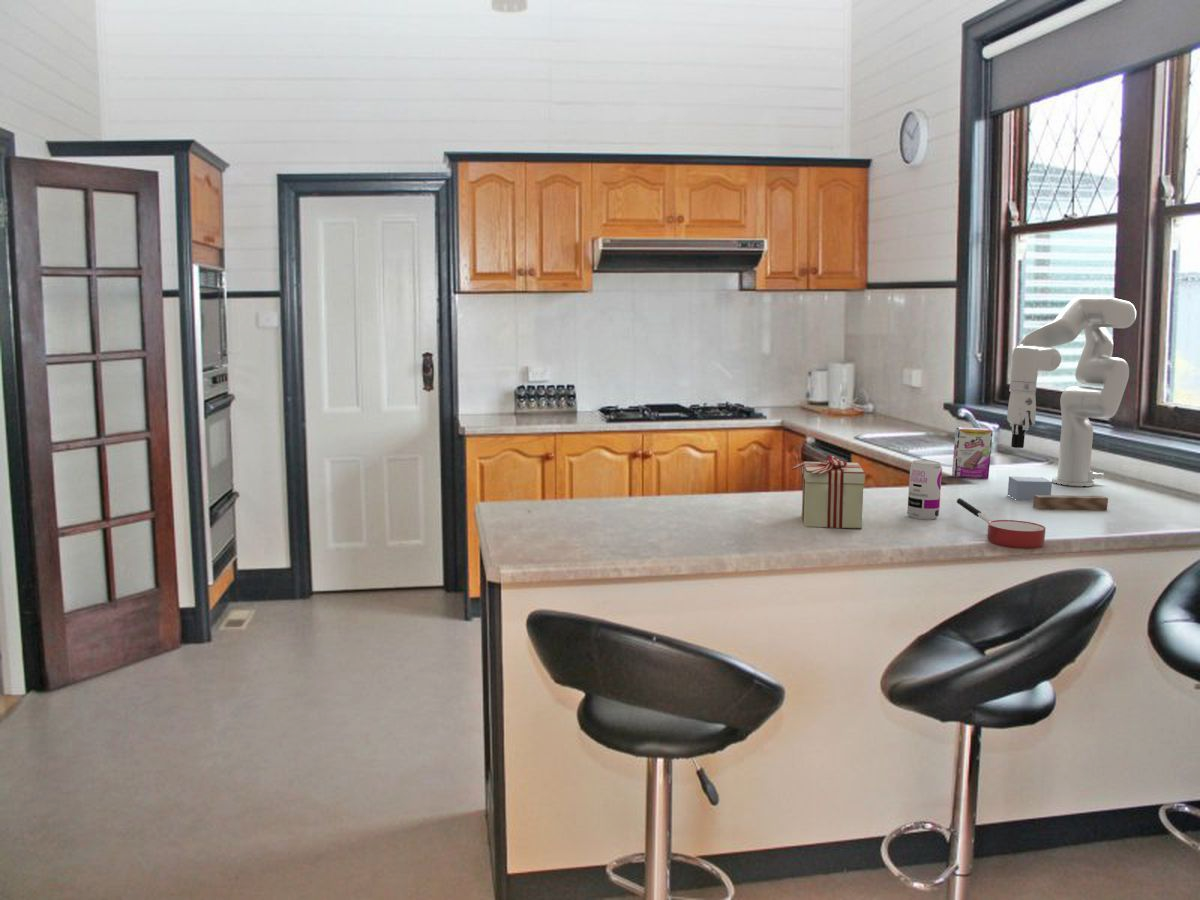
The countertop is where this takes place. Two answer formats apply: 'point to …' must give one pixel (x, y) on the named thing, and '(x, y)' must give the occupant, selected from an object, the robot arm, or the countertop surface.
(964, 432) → the candy bar box
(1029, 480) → the block
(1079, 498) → the board
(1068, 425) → the robot arm
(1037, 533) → the frying pan
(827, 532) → the countertop surface
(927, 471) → the supplement can
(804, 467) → the gift box
